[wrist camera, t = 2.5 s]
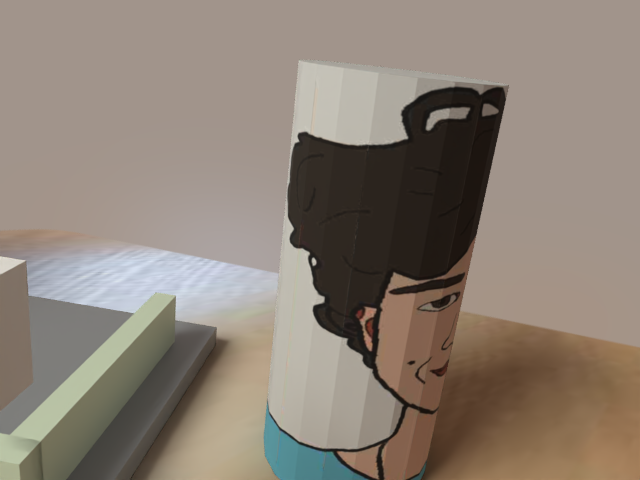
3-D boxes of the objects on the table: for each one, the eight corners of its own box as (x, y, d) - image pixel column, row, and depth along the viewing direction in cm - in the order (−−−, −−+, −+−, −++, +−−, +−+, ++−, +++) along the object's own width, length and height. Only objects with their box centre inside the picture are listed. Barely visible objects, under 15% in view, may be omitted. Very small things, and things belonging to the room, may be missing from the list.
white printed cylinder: (370, 544, 18) (456, 83, 13) (228, 446, 22) (254, 55, 17) (451, 444, 24) (535, 86, 19) (326, 379, 27) (368, 64, 22)
